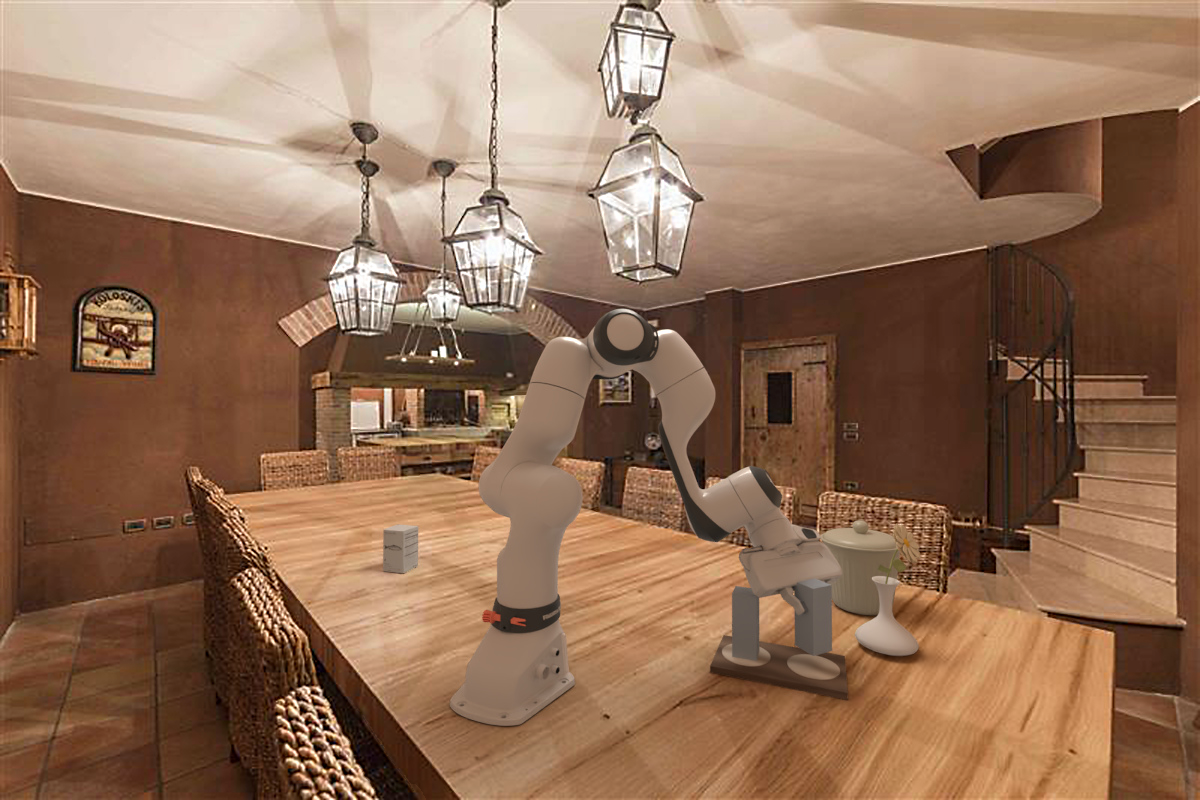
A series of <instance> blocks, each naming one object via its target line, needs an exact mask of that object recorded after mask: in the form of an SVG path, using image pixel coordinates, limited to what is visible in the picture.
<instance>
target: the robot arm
mask: <svg viewBox="0 0 1200 800" xmlns="http://www.w3.org/2000/svg"><path fill="white" fill-rule="evenodd" d="M588 333H589V334H588V335H587V336H585V337H584V338H578V339H577V338H574V337H572V336H571V337H570V336H558V337H554V338H553V339H551V340H549V341H548V342H547V344H546V345H545V346H544V349H543V351H542V352H541V355H540V357H539V359H538V361H537V362H536V365H535V367H534V370H533V372H532V375H531V377H530V382H529V384H528V388H527V390H526V394H525V397H524V400H523V403H522V406H521V408H520V413H519V414H518V419H517V420H516V423H515V425H514V427H513V429H512V430H511V433H510V435H509V437H508V438H507V440H506V442H505V443H504V445H503V447H502V449H501V450H500V452H499V454H497V457H495V459H494V460H493V461H492V462H491V463H490V464H489V465H488V466H486V467H485V469H483V471H482V473H481V474H480V477H479V481H478V493H479V496H480V498H481V500H482V501H483V502H484V503H485V504H486V506H487V507H488V508H490V509H491V510H492V511H493V512H495V514H498V515H499V516H500V515H501V516H502V517H506V518H509V520H510V527H509V532H508V537H507V540H506V544H505V545H504V547H503V548H502V549H500V551H499V553H498V555H497V559H496V597H495V599H494V603H493V606H492V609H491V610H489V609H485V610H484V611H483V613H482V615H481V621H482V622H483V623H490V626H489V628H488V629H487V631H486V633H485V634H484V636H483V638H482V639H481V641H480V643H479V645H478V646H477V648H476V649H475V651H474V653H473V655H472V656H471V658H470V659H469V662H468V663H467V666H466V672H465V680H464V681H465V682H464V683H463V684H462V685H461V686H460V687H459V689H458V690H457V691H456V692H455V693H454V694H453V695H452V696H451V698H450V699H449V700H450V701H449V707H450V709H452V710H453V711H454V712H455V713H456V714H457V715H459V716H462V717H464V718H466V719H468V720H473V721H475V722H478V723H483V724H487V725H491V726H492V725H493V726H501V727H502V726H503V727H504V726H505V727H507V726H509V727H510V726H519V725H522V724H523V723H525V722H526V721H527V720H529V719H530V718H532V717H533V716H534V715H536V714H537V713H538V712H540V711H541V710H542V709H544V708H545V707H546V706H548V705H550V704H551V703H552V702H553V701H554V700H556V699H557V698H559V697H560V696H562V695H563V694H564V693H565V692H566V691H569V690H570V689H571V688H572V687H573V686H575V684H576V681H575V679H576V678H575V676H574V675H573V673H572V672H570V668H569V656H568V644H567V635H566V633H565V632H564V629H563V627H562V625H561V622H560V620H559V619H560V618H561V617H560V616H561V608H562V604H561V603H562V602H561V596H560V594H559V588H558V587H559V586H558V585H559V584H558V583H559V582H558V581H559V556H560V550H561V549H560V548H561V545H562V541H563V538H564V535H565V532H566V530H567V528H568V527H569V526H570V525H571V524H572V523H573V522H574V521H575V520H576V518H577V517H578V515H579V514H580V511H581V509H582V506H583V500H584V498H583V497H584V496H583V489H582V486H581V483H580V482H579V481H578V479H577V478H576V477H575V476H574V475H572V474H570V473H569V472H567V471H566V470H564V469H562V468H560V467H558V466H556V465H553V463H554V461H555V460H556V458H557V457H558V455H559V454H561V453H560V452H562V450H563V449H564V448H565V447H567V446H568V445H569V444H570V443H571V442H572V441H573V440H574V439H575V435H576V432H577V429H578V425H579V422H580V419H581V414H582V411H583V409H584V405H585V401H586V397H587V394H588V390H589V386H590V384H591V382H592V380H603V381H604V380H605V381H606V380H614V379H615V380H616V379H617V378H620V377H622V376H624V375H625V374H626V373H627V372H628V371H631V370H633V371H635V372H637V373H639V374H640V375H641V376H643V378H645V379H646V381H647V382H648V383H649V385H650V386H651V388H652V391H653V392H654V394H655V395H656V398H657V399H658V401H659V405H660V409H661V420H660V422H659V423H658V425H657V427H658V436H659V439H660V443H661V445H662V446H661V447H662V448H663V450H664V454H665V457H666V460H667V462H668V465H669V467H670V470H671V473H672V475H673V479H674V481H675V484H676V486H677V489H678V491H679V495H680V496H681V499H682V502H683V505H684V510H685V511H684V512H685V514H686V519H687V521H688V522H687V523H688V524H689V527H690V529H691V530H692V532H693V533H694V534H695V536H697V538H698V539H700V540H702V541H707V542H711V543H719V542H720V541H722V540H723V539H725V538H726V537H728V536H729V535H731V534H732V533H733V532H735V531H737V530H738V529H740V528H742V527H743V528H745V530H746V531H747V535H748V539H749V541H750V543H751V544H752V547H750V548H749V547H747V548H742V549H741V551H740V552H739V553H738V559H739V562H740V564H741V566H742V567H743V570H744V573H745V577H746V580H747V583H748V585H749V588H751V590H752V592H753V593H754V594H755V595H756V596H757V597H759V599H760V598H761V599H762V598H766V597H772V596H776V595H780V596H781V598H782V600H784V601H785V602H786V603H787V604H788V605H789V606H790V607H792V608H793V610H794V612H795V611H796V613H797V615H802V614H805V613H806V612H808V607H807V606H806V604H805V602H804V601H801V602H800V600H799V599H797V598H796V597H795V596H794V586H796V585H797V582H799V581H804V580H809V579H814V578H815V579H818V580H820V581H823V582H825V583H828V584H831V583H834V582H835V581H837V580H838V579H839V578H840V577H841V576H842V568H841V566H840V565H839V563H838V561H837V560H836V558H835V557H834V555H833V554H832V552H831V551H830V550H829V548H828V547H827V546H826V545H825V544H824V543H823V541H820V540H821V537H820V536H821V535H820V533H819V532H818V531H817V530H816V529H813V528H809V527H808V528H807V527H803V526H800V525H797V524H792V523H791V521H790V519H789V518H788V517H787V516H786V515H785V514H784V513H783V512H782V510H781V505H782V499H783V494H782V492H781V491H780V490H779V488H777V487H776V485H775V484H774V482H773V479H772V477H771V475H770V473H769V472H768V470H767V469H763V468H761V467H758V466H753V465H749V466H747V467H744V468H742V469H740V470H738V471H736V472H734V473H732V474H730V475H728V476H727V477H726V478H724V479H722V480H721V481H719V482H717V483H714V484H712V485H711V486H709V487H707V488H704V489H702V488H700V487H699V486H700V485H699V483H698V482H697V479H696V476H695V472H694V470H693V468H692V466H691V463H690V460H689V457H688V454H687V446H688V443H689V441H690V440H691V437H692V436H693V435H694V433H695V432H696V431H697V430H698V428H699V427H700V426H701V425H702V424H703V422H704V421H705V419H707V417H708V416H709V414H710V413H711V411H712V409H713V407H714V405H715V404H714V403H715V401H716V388H715V386H714V384H713V382H712V379H711V377H710V375H709V374H708V373H709V372H708V371H707V370H706V367H705V366H704V365H703V363H702V362H701V360H700V359H699V357H698V355H697V354H696V353H695V352H694V350H693V349H692V348H691V346H690V345H689V344H688V342H686V340H685V339H684V338H683V337H682V336H681V335H680V334H679V333H678V332H677V331H676V330H673V329H659V330H657V328H656V326H654V325H653V324H651V323H649V322H648V321H647V320H646V319H645V318H643V316H642V315H640V314H638V313H637V312H635V311H634V310H632V309H628V308H617V309H614V310H610V311H609V312H607V313H604V314H603V316H601V317H600V318H599V319H598V320H597V322H596V324H595V325H594V327H592V329H591V330H590V332H588Z"/></svg>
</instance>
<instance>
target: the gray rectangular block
mask: <svg viewBox="0 0 1200 800" xmlns="http://www.w3.org/2000/svg"><path fill="white" fill-rule="evenodd" d="M793 595H794V596H795V597H796V598H797V599H799V600H800V602H801V601H804V602H805V604H806V606H807V607H808V612H806V613H805V614H802V615H797V613H796V611H795V610H794V647H797V648H800V649H802V650H804V651H806V652H807V653H809V654H811V655H813V656H816V655H819V654H823V653H830V652H833V600H832V585H830V584H828V583H825V582H823V581H820V580H818V579H815V578H814V579H809V580H804V581H799V582H797V585H796V586H794V593H793Z"/></svg>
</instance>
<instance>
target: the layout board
mask: <svg viewBox="0 0 1200 800" xmlns="http://www.w3.org/2000/svg"><path fill="white" fill-rule="evenodd" d="M709 673H712V674H716V675H721V676H725V677H731V678H736V679H740V680H746V681H751V682H756V683H759V684H767V685H771V686H776V687H780V688H786V689H790V690H796V691H800V692H805V693H810V694H811V693H812V694H816V695H821V696H825V697H830V698H834V699H839V700H844V701H845V700H846V701H849V695H848V694H849V691H848V689H849V688H848V677H847V665H846V655H844V654H836V653H830V652H826V653H823V654H819V655H816V656H813V655H811V654H809V653H807V652H806V651H804V650H802V649H800V648H799V647H797V646H790V645H784V644H779V643H773V642H766V641H761V640H759V654H758V658H757V661H753V660H747V659H742V658H736V657H732V635H726V634H723V635H722V638H721V640H720V642H719V644H718V647H717V648H716V651H715V654H714V657H713V658H712V660H711V663H710V665H709Z"/></svg>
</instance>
